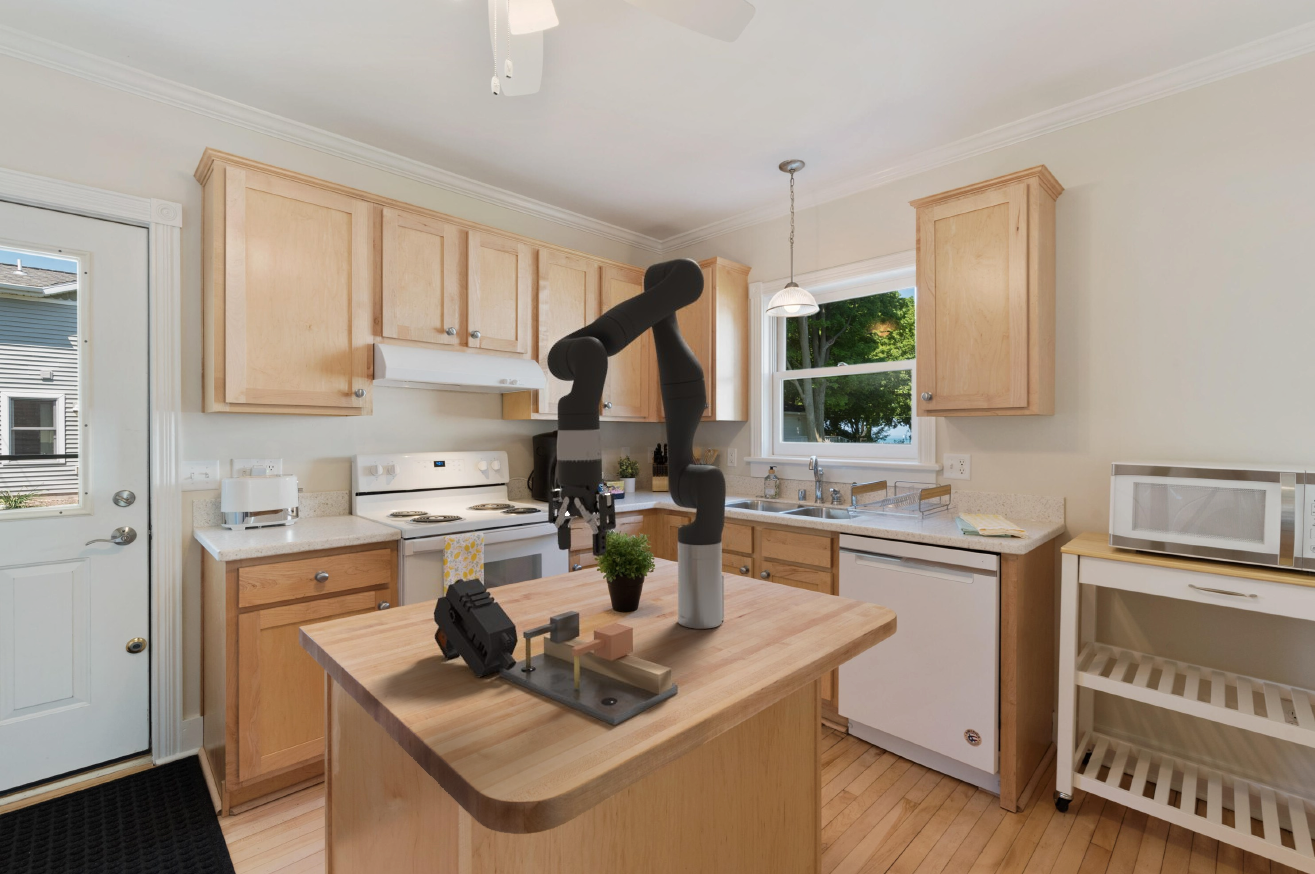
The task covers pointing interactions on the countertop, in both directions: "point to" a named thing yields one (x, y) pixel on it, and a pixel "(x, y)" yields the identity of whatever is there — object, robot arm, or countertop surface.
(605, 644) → the slider leg
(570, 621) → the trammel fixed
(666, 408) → the robot arm
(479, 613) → the tool
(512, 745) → the countertop surface
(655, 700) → the hole plate
